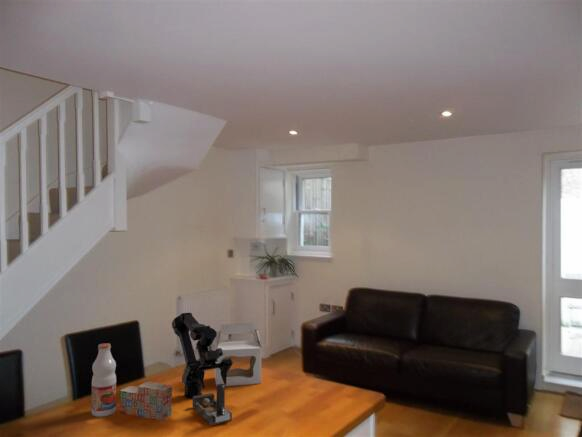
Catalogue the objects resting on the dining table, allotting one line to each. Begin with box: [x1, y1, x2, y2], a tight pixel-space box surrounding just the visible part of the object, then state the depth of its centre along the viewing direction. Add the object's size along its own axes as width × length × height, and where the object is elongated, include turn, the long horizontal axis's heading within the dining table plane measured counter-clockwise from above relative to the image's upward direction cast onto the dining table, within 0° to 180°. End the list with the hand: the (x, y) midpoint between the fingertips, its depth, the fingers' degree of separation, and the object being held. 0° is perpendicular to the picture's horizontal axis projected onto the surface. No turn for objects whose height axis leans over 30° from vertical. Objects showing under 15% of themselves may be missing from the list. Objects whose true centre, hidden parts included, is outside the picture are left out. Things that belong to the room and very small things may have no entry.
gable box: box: [214, 323, 262, 387], centre depth 233 cm, size 22×13×28 cm, turn 103°
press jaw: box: [211, 384, 230, 422], centre depth 184 cm, size 5×6×13 cm
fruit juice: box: [90, 342, 117, 418], centre depth 193 cm, size 9×9×28 cm
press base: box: [192, 392, 233, 426], centre depth 192 cm, size 21×9×4 cm, turn 31°
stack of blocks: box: [119, 381, 173, 422], centre depth 192 cm, size 21×6×12 cm, turn 69°
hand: (214, 386), depth 189 cm, fingers open, 9 cm apart
